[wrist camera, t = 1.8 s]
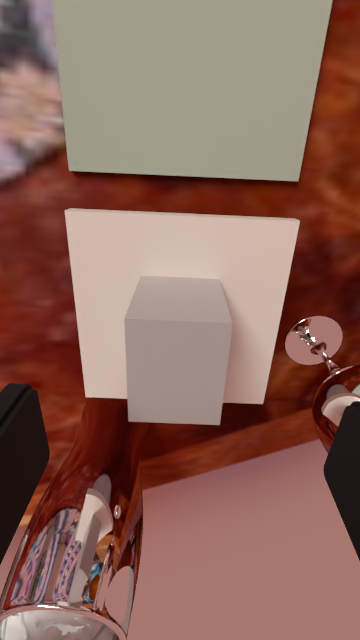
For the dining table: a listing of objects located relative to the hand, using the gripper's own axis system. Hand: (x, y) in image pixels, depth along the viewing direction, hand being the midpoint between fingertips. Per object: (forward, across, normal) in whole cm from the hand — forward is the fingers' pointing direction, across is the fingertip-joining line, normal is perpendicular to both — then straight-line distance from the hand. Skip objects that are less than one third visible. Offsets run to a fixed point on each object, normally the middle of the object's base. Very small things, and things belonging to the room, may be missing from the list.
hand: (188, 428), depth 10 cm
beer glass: (+14, +6, +14) cm, 21 cm away
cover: (+9, +1, 0) cm, 9 cm away
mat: (+15, +1, -13) cm, 20 cm away
